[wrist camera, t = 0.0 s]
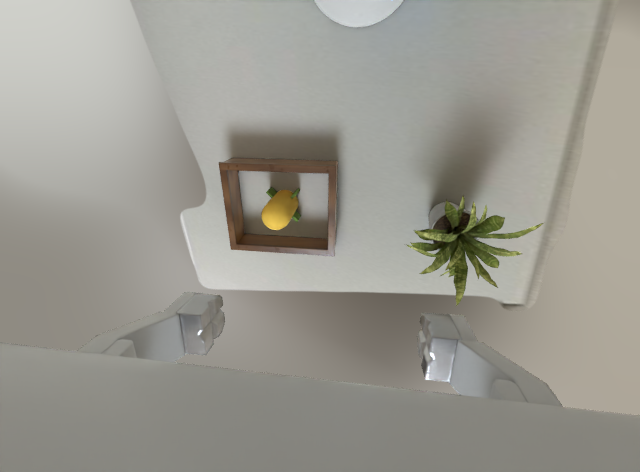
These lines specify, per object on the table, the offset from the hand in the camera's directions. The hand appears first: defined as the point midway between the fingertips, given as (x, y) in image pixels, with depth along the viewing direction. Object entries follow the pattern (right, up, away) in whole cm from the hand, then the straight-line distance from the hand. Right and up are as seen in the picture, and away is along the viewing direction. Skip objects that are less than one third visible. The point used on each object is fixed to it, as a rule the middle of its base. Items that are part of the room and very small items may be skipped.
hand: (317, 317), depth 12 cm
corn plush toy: (-6, +9, +40) cm, 41 cm away
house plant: (+21, +8, +37) cm, 43 cm away
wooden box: (-6, +9, +40) cm, 41 cm away
